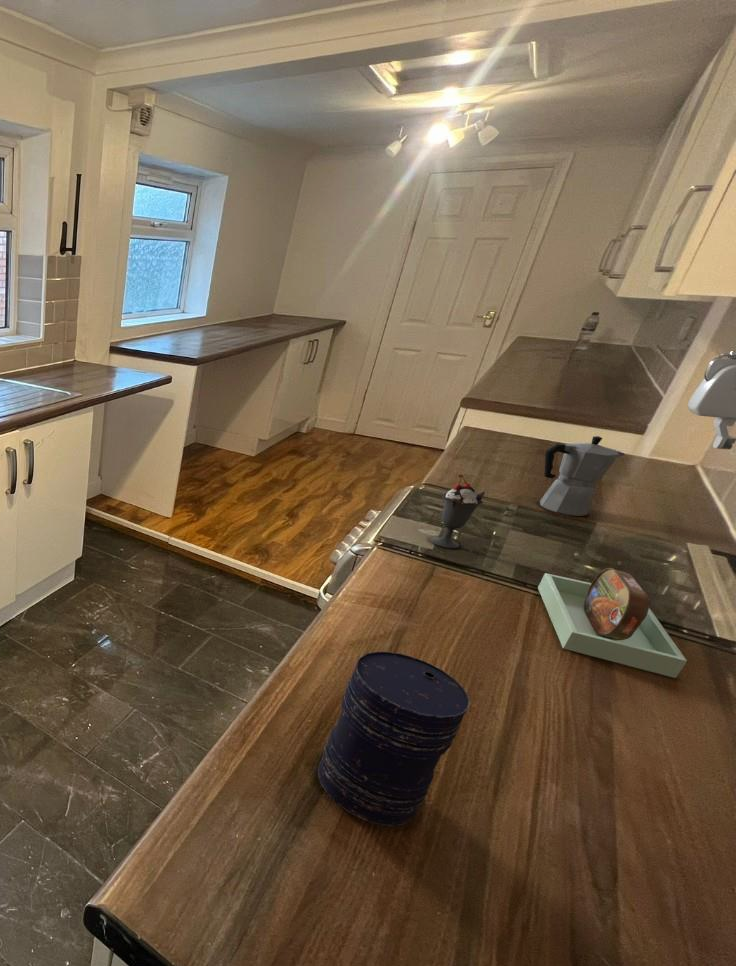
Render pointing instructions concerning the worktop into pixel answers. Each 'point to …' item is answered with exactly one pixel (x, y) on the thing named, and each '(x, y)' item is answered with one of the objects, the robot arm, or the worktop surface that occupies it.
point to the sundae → (457, 511)
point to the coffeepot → (576, 475)
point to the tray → (577, 634)
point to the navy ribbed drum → (390, 736)
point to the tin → (615, 604)
